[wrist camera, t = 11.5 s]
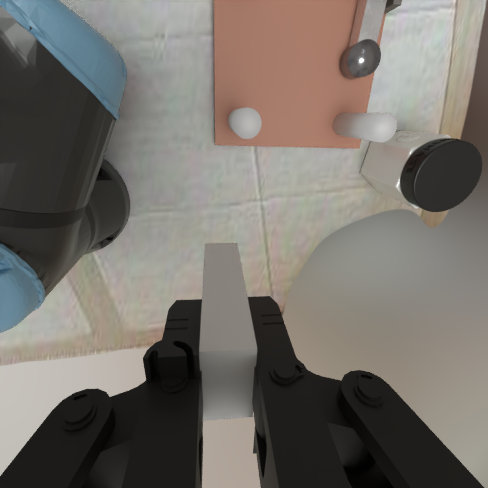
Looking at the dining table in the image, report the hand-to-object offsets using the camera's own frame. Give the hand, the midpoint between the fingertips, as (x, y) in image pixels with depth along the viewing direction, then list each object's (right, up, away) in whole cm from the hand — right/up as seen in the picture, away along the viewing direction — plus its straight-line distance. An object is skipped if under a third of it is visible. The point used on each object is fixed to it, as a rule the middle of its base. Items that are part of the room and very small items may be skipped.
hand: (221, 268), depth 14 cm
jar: (+23, +14, +29) cm, 39 cm away
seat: (+7, +24, +22) cm, 34 cm away
